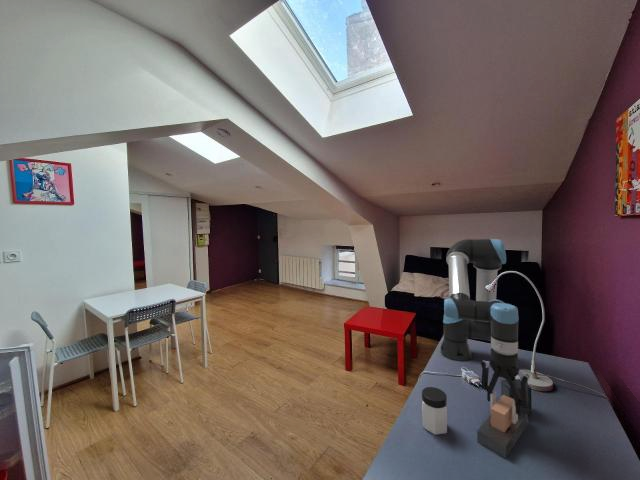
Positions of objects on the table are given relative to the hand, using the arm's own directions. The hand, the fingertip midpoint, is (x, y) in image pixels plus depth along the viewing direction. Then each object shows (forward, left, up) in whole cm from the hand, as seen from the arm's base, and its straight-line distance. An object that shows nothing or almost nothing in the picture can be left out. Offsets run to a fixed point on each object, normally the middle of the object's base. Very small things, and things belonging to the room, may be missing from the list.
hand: (503, 416), depth 91 cm
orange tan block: (0, 0, -6) cm, 6 cm away
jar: (+15, -17, -6) cm, 23 cm away
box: (-16, -1, -6) cm, 17 cm away
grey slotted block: (0, 0, -6) cm, 6 cm away
